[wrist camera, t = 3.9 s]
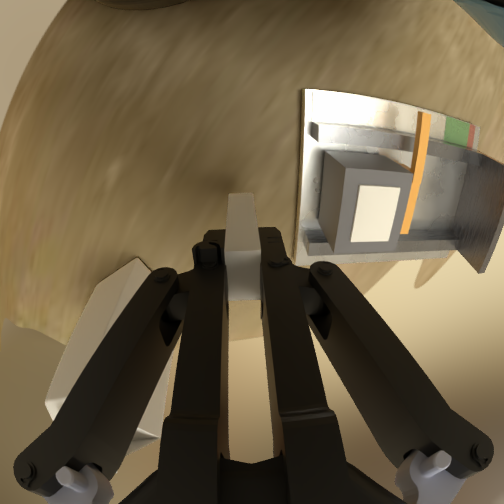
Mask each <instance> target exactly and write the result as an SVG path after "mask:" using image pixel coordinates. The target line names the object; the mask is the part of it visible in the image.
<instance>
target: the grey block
mask: <svg viewBox="0 0 504 504" xmlns="http://www.w3.org/2000/svg"><path fill="white" fill-rule="evenodd" d="M412 180H413V173H412V172H410V171H409V170H407V169H405V168H404V167H402V166H401V165H399V164H397V163H396V162H394V161H393V160H391V159H389V158H388V157H386V156H384V155H375V154H365V153H354V152H340V151H325V156H324V169H323V181H322V192H321V202H320V211H319V220H318V224H319V226H320V227H321V229H322V231H323V233H324V235H325V237H326V239H327V241H328V243H329V245H330V247H331V249H332V251H333V253H358V252H384V251H395V250H396V246H397V243H398V239H399V235H400V232H401V228H402V224H403V220H404V216H405V212H406V208H407V204H408V199H409V194H410V190H411V185H412Z"/></svg>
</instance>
